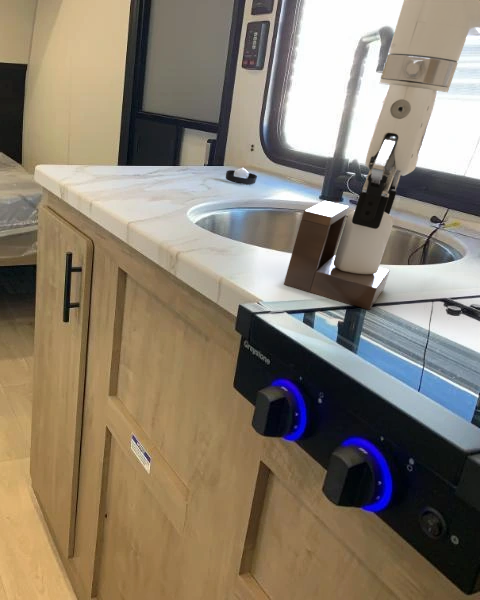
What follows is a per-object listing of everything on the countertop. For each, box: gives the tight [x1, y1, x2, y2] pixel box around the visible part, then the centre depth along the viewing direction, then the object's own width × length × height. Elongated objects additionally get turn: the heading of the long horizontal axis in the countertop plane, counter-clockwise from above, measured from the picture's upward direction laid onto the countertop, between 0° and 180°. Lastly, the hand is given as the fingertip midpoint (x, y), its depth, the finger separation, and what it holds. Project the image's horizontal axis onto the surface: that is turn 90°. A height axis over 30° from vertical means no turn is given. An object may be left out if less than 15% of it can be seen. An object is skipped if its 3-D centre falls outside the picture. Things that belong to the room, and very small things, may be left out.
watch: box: [225, 167, 258, 185], centre depth 152 cm, size 8×5×4 cm, turn 77°
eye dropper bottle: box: [333, 185, 394, 274], centre depth 78 cm, size 4×6×12 cm
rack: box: [283, 200, 391, 311], centre depth 80 cm, size 11×11×10 cm
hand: (370, 220), depth 78 cm, fingers open, 6 cm apart
